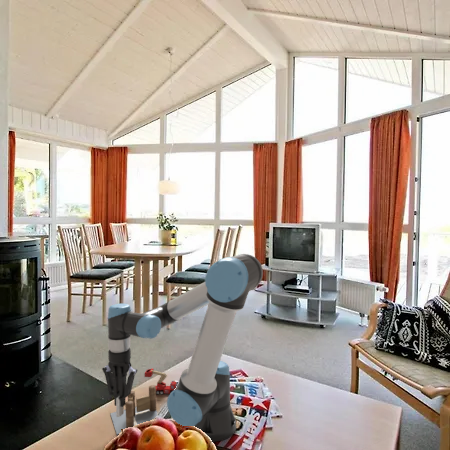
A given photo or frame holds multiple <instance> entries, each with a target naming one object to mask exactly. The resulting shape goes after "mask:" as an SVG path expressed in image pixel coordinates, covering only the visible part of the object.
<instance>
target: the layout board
mask: <svg viewBox="0 0 450 450" xmlns="http://www.w3.org/2000/svg"><path fill="white" fill-rule="evenodd" d="M157 413H158V411H157V409H156V410H155V411H150V410H149V409H148V410H144V411H141V412H137V408H136V406H135V416H134V426H135V425H138V424H140V423H143V422H146V421H150V420H152V419H154V418H155V417H156V416H157ZM110 417H111V421H112V423H113V427H114V430H115V433H116V436H119V435H118V434H119V433H120V432H121V429H125V428H126V408H125V409H124V413H123V414H122V415H121V416H120V417H116V411H114V412H111V413H110Z"/></svg>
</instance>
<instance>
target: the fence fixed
mask: <svg viewBox="0 0 450 450" xmlns="http://www.w3.org/2000/svg"><path fill="white" fill-rule="evenodd" d="M156 386H157V385H155V384H152V385H149V386H148V394H145V395H143V396H138V397H135V399H133V416H135V407H136V408H137V412H141V411H144V410H148V409H149V410H150V411H155V410H156V411H157V393H156ZM128 401H129V400H128V399H127V402H128Z"/></svg>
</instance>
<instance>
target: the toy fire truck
mask: <svg viewBox="0 0 450 450" xmlns="http://www.w3.org/2000/svg"><path fill="white" fill-rule="evenodd" d="M153 375H157V376H160V377H159V379H158V381H157V382H156V385H155V386H156V395H163V394H167V395H170V394H171V392H172V391H173V390H174V389H175V388H176V386H178V383H177V382H176V381H175V380H171V382H170V384H169V385H167V383H166V382H164V381H165V380H166V378H167V377H168V374H166V373H165V372H161V371H157V370H154V368H148V369H146V370H145V371H144V378H151V377H152V376H153Z"/></svg>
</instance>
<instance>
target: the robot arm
mask: <svg viewBox="0 0 450 450" xmlns="http://www.w3.org/2000/svg"><path fill="white" fill-rule="evenodd" d="M263 270H264V269H263V266H262V263H261V262H260V260H259V259H257V258H256V257H255V256H253V255H251V254H249V253H240V254H238V255H233V256H228V257H223V258H221V259H219V260H217V261H215V262H214V263H213V264H211V266H210V267H209V268H208V270H207V272H206V274H205V278H204V279H205V280H204V282H202V283H200V284H198V285H196V286H195V287H193V288H191V289H189V290H187V291H185V292H184V293H181V294H180V295H179V296H176V297H175V298H173V299H171V300H169V301H167V302H165V303H163V304H162V305H159V306H157V307H155V308H153V309H152V308H151V309H150V310H146V311H144V312H141V313H139V312H134V311H131V310H132V309H131V305H130V304H128V303H115V304H112V305H110V306H109V307H108V312H107V314H108V315H107V326H108V327H107V329H108V331H107V332H108V333H107V335H108V336H107V337H108V339H107V340H108V341H107V349H108V351H107V352H108V355H107V356H108V357H107V358H108V363H107V365H105V366H104V367H102V369H101V370H102V372H103V373H104V377H105V381H106V385H107V390H108V395H110V396H113V398H114V401H113V402H114V403H113V404H114V406H116V407H115V408H116V410H115V412H116V417H120V416H121V415H122V414H123V413H124V410H125V409H124V407H125V403H126V398H128V395H129V394H130V393H131V391H132V388H133V384H134V381H135V377H136V374H137V373H138V369H137V368H133V367H132V363H131V357H132V355H131V354H132V350H131V344H132V343H131V336H133V337H134V336H135V337H138V338H142V339H155V338H156V337H158V334H160V332H161V330H162V329H163V328H165V327H168V326H170V325H172V324H174V323H176V322H177V321H179V320H181V319H183V318H185V317H187V316H189V315H191V314H193V313H195V312H197V311H198V310H201V309H202V308H204V307H206V306H207V309H206V312H205V314H204V317H203V318H204V319H203V321H202V324H201V328H200V330H199V333H198V336H197V340H196V343H195V346H194V349H193V352H192V355H191V358H190V360H189V361H190V362H189V365H188V368H185V369H184V370H182V372H181V374H180V378H179V380H178V383H177V388H176V389H175V390H173V391H172V392H171V393H170V394H168V396H167V399H166V406H167V411H168V413H169V414H170V416H171V418H172V419H173V421H175V422H176V423H177V424H178V425H179V424H180V426H181V425H182V426H181V427H183V426H195V427H197V428H199V429H201V430H202V431H203V432H205V433H206V434H207V435H208V436H209V437H210V438H211V440H212V441H211V442H219V441H224V440H226V439H229V438H230V437H231V436H233V435H234V434H235V432H236V431H237V421H236V420H237V419H236V418H235V417H236V416H235V414H234V411H233V409H232V406H231V381H230V379H231V372H230V366H229V364H228V363H227V362H225V361H223V360H221V359H222V357H223V353H224V350H225V347H226V344H227V341H228V339H229V335H230V332H231V329H232V327H233V324H234V320H235V317H236V314H237V312H238V311H242V310H243V309H244V306H245V303H246V300H247V298H248V296H249V293H250V292H251V291H252V290H254V289H256V288H257V287H258V286H259V284H260V283H261V282H262V279H263V275H264V271H263ZM127 376H128V377H127Z"/></svg>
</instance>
